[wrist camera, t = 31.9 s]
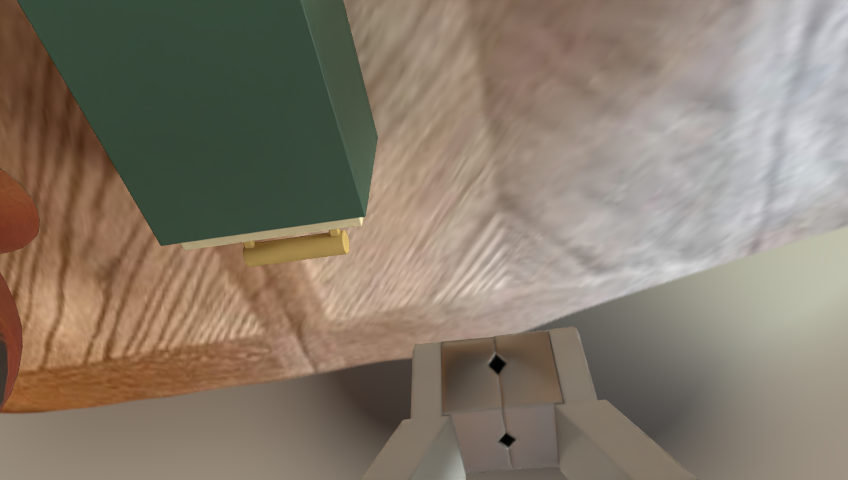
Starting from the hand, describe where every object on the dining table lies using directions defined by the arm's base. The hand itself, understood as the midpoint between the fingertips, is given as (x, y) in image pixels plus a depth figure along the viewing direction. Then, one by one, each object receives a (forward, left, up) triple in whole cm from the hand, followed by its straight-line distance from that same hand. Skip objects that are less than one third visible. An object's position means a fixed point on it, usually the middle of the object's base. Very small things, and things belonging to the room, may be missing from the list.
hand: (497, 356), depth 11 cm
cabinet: (+13, +2, -29) cm, 32 cm away
